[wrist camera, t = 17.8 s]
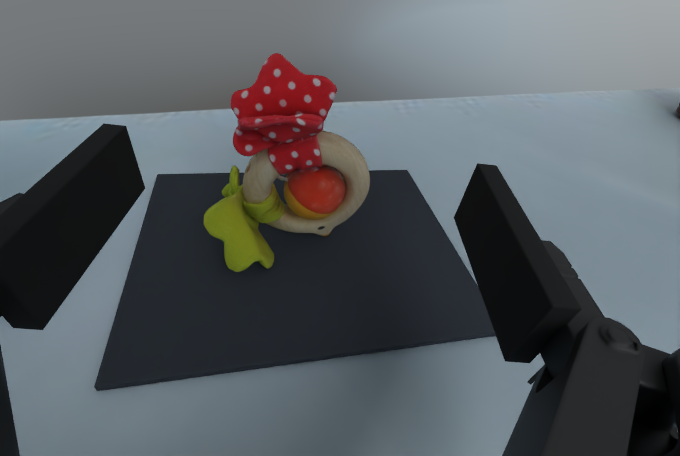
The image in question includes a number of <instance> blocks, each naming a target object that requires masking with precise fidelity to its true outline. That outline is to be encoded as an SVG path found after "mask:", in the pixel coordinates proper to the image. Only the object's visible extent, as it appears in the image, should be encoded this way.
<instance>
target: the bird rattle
mask: <svg viewBox="0 0 680 456" xmlns="http://www.w3.org/2000/svg"><path fill="white" fill-rule="evenodd" d="M336 92H337V88H336V86H335V85H334V84H333V83H332V82H331V81H330V80H329V79H328V78H326V77H324V76H318V75H305V74H303V73H302V72H300V71H299V70H298V69H296V68H295V67H294V66H293V65H292V64H291V63H290V62H289V61H288V60H287V59H286V58H284V57H283V56H282V55H281V54H278V53H275V54H272V55H271V56H270V57H269V58H268V59H267V60H266V61H265V63H264V65H263V66H262V69H261V71H260V73H259V75H258V78H257V80H256V82H255V84H254V85H253V86H252V87H250V88H247V89H243V90H238V91H236V92H234V94H233V95H232V98H231V108H232V110H233V111H234V113H235V115H236V116H237V118H238V119H239V120H238V127H237V128H236V130H235V132H234V136H233V144H234V147H235V149H236V150H237V152H238V153H240V154H241V155H244V156H252V155H253V156H252V158H251V160H250V161H249V163H248V165H247V167H246V170H245V173H244V177H243V184H242V185H241V186H239V169H238V168H237V167H236V166H232V169H231V172H230V178H229V184H227V185H226V186H225V187H224V189H223V190H222V195H223V196H224V197H225V198H224V199H222V200H220V201H219V202H218V203H216V204H215V205H213V206H212V207H210V208H209V209H208V210H207V211H206V212H205V214H204V226H205V228H206V229H207V231H208V232H209V234H210V235H211V236H213V237H215V238H218V239H220V240H222V241H223V242H224V256H225V261H226V265H227V267H228V268H229V269H231V270H233V271H235V272H240V271H243V270H245V269H246V268H248V267H249V266H250V265H251V264H252V263H253V262H256V261H259V262H260V264H262V265H263V266H264V267H265V268H267V269H268V268H271V267H272V265H273V262H274V253H273V251H272V250H271V248H270V247H269V245H268V244H267V242H266V241H265V239H264V238H263V236H262V235H261V233H260V232H259V230H258V226H259V222H260V223H266V224H268V225H270V226H272V227H274V228H277V229H281V230H284V231H288V232H294V233H314V234H317V235H320V236H327V235H329V234H330V232H331V231H332V229H333V228H334V227H335V226H337V225H339V224H341V223H342V222H344V221H346V220H347V219H348V218H349V217H350V216H352V215H353V214H354V213H355V212H356V211H357V210H358V208H359V207H360V206H361V205H362V203H363V202H364V200H365V198H366V196H367V194H368V191H369V186H370V175H369V170H368V166H367V163H366V161H365V159H364V157H363V155H362V154H361V153H360V151H359V150H358V149H357V148H356V147H355V146H354V145H353V144H352V143H350V142H349V141H348V140H346V139H345V138H343V137H341V136H339V135H336V134H334V133H331V132H327V131H322V130H323V122H324V120H325V119H326V117H327V114H328V112H329V110H330V107H331V106H332V103H333V100H334V98H335V95H336ZM287 173H288V175H287V177H286V178H285V177H282V176H280V174H281V175H285V174H287ZM276 178H278V179H280V180H285V183H284V197H285V200H286V203H287V204H288V205H286V204H284V203H283V201H282V200H281V199H280V197H279V194H278V192H277V190H276V188H275V185H274V183H273V182H274V181H275V179H276Z"/></svg>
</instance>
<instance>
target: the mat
mask: <svg viewBox="0 0 680 456" xmlns="http://www.w3.org/2000/svg"><path fill="white" fill-rule="evenodd" d="M287 175H288V173H287V174H285V175H281V174H280V176H282V177H285V178H286V177H287ZM369 175H370V186H369V191H368V194H367V196H366V198H365V200H364V202H363V203H362V205H361V206H360V207H359V208H358V210H357V211H356V212H355V213H354V214H353V215H352V216H350V217H349V218H348V219H347V220H346V221H344V222H342V223H341V224H339V225H337V226H335V227H334V228H333V229H332V231H331V232H330V234H329V235H327V236H320V235H317V234H314V233H294V232H288V231H284V230H281V229H277V228H274V227H272V226H270V225H268V224H266V223H260V222H259V226H258V230H259V232H260V233H261V235H262V236H263V238H264V239H265V241H266V242H267V244H268V245H269V247H270V248H271V250H272V251H273V253H274V262H273V265H272V267H271V268H268V269H267V268H265V267H264V266H263V265H262V264H260V262H259V261H256V262H253V263H252V264H251V265H250V266H249V267H248V268H246V269H245V270H243V271H240V272H235V271H233V270H231V269H229V268H228V267H227V265H226V261H225V256H224V242H223V241H222V240H220V239H218V238H215V237H213V236H211V235H210V234H209V232H208V231H207V229H206V228H205V226H204V214H205V212H206V211H207V210H208V209H209V208H210V207H212V206H213V205H215V204H216V203H218V202H219V201H220V200H222V199H224V198H225V197H224V196H223V195H222V190H223V189H224V187H225V186H226V185H227V184H229V178H230V173H205V174H158V175H157V178H156V181H155V185H154V188H153V191H152V195H151V198H150V202H149V205H148V208H147V212H146V215H145V218H144V222H143V225H142V228H141V232H140V235H139V239H138V242H137V245H136V249H135V252H134V255H133V259H132V262H131V265H130V269H129V272H128V276H127V279H126V282H125V286H124V289H123V292H122V296H121V299H120V302H119V306H118V309H117V312H116V316H115V319H114V323H113V326H112V329H111V333H110V336H109V339H108V343H107V346H106V349H105V353H104V356H103V360H102V363H101V366H100V370H99V373H98V376H97V380H96V383H95V386H94V387H95V389H96V390H97V391H100V390H108V389H115V388H122V387H129V386H136V385H144V384H151V383H158V382H165V381H172V380H180V379H187V378H194V377H201V376H208V375H216V374H223V373H230V372H237V371H244V370H252V369H259V368H266V367H273V366H280V365H288V364H295V363H302V362H309V361H316V360H324V359H331V358H338V357H345V356H352V355H360V354H367V353H374V352H381V351H388V350H396V349H403V348H410V347H417V346H424V345H432V344H439V343H446V342H453V341H460V340H468V339H475V338H482V337H489V336H496V334H495V331H494V329H493V326H492V323H491V320H490V317H489V315H488V312H487V309H486V306H485V303H484V301H483V298H482V295H481V292H480V289H479V288H478V286H477V284H476V283H475V281H474V279H473V278H472V276H471V274H470V273H469V271H468V269H467V268H466V266H465V265H464V263H463V261H462V260H461V258H460V256H459V255H458V253H457V251H456V250H455V248H454V246H453V245H452V243H451V241H450V240H449V238H448V237H447V235H446V233H445V232H444V230H443V228H442V227H441V225H440V223H439V222H438V220H437V218H436V217H435V215H434V214H433V212H432V210H431V209H430V207H429V205H428V204H427V202H426V200H425V199H424V197H423V195H422V194H421V192H420V190H419V189H418V187H417V186H416V184H415V182H414V181H413V179H412V177H411V176H410V174H409V172H408V171H407V170H376V171H369ZM243 177H244V173H239V186H241V185H242V184H243ZM273 183H274V185H275V188H276V190H277V192H278V194H279V197H280V199H281V200H282V201H283V203H284V204H286V205H288V204H287V203H286V200H285V197H284V183H285V180H280V179H278V178H276V179H275V181H274V182H273Z"/></svg>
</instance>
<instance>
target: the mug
mask: <svg viewBox="0 0 680 456" xmlns="http://www.w3.org/2000/svg"><path fill="white" fill-rule="evenodd" d="M676 112H677V115H678V117H679V118H680V103H679V106H678V108H677V109H676Z"/></svg>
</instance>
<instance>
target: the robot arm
mask: <svg viewBox="0 0 680 456" xmlns="http://www.w3.org/2000/svg"><path fill="white" fill-rule="evenodd" d="M144 189H145V186H144V183H143V180H142V176H141V173H140V170H139V167H138V163H137V160H136V157H135V154H134V151H133V147H132V144H131V141H130V138H129V135H128V131H127V128H126V126H121V125H111V124H103V125H102V126H101V127H100V128H98V129H97V130H96V131H95V132H94V133H93V134H92V135H90V136H89V137H88V138H87V139H86V140H85V141H84V142H82V143H81V144H80V145H79V146H78V147H77V148H76V149H75V150H73V151H72V152H71V153H70V154H69V155H68V156H67V157H65V158H64V159H63V160H62V161H61V162H60V163H59V164H57V165H56V166H55V167H54V168H53V169H52V170H51V171H50V172H48V173H47V174H46V175H45V176H44V177H43V178H42V179H40V180H39V181H38V182H37V183H36V184H35V185H34V186H32V187H31V188H30V189H29V190H28V191H27V192H26V193H24V194H22V193H18V194H16V195H14V196H12V197H10V198H8V199H6V200H4V201H2V202H0V317H1V316H3V317H4V318H5V319H6V321H7V322H8V323H9V324H10V325H11V326H12V327H13V328H21V329H36V330H43V329H44V328H45V326H46V325H47V323H48V322H49V321H50V319H51V318H52V317H53V315H54V314H55V312H56V311H57V310H58V308H59V307H60V305H61V304H62V303H63V301H64V300H65V299H66V297H67V296H68V294H69V293H70V292H71V290H72V289H73V287H74V286H75V285H76V283H77V282H78V281H79V279H80V278H81V276H82V275H83V274H84V272H85V271H86V269H87V268H88V267H89V265H90V264H91V263H92V261H93V260H94V258H95V257H96V256H97V254H98V253H99V251H100V250H101V249H102V247H103V246H104V245H105V243H106V242H107V240H108V239H109V238H110V236H111V235H112V233H113V232H114V231H115V229H116V228H117V227H118V225H119V224H120V222H121V221H122V220H123V218H124V217H125V215H126V214H127V213H128V211H129V210H130V209H131V207H132V206H133V204H134V203H135V202H136V200H137V199H138V197H139V196H140V195H141V193H142V192H143V191H144ZM454 219H455V222H456V225H457V228H458V230H459V233H460V236H461V239H462V242H463V244H464V247H465V250H466V253H467V256H468V258H469V261H470V264H471V267H472V270H473V272H474V275H475V278H476V281H477V284H478V286H479V289H480V292H481V295H482V298H483V301H484V303H485V306H486V309H487V312H488V315H489V317H490V320H491V323H492V326H493V329H494V331H495V334H496V337H497V340H498V343H499V345H500V348H501V351H502V354H503V357H504V359H505V361H508V362H523V363H530V362H531V361H532V360H533V359H534V358H535V357H536V356H537V355H538V354H539V353H540V354H541V356H542V358H543V360H544V363H545V365H544V366H543V367H542V368H541V369H540V370H539V371H538V372H537V373H536V374H534V375H533V376H532V377H531V378H530V380H529V381H528V383H529V384H532V383H533V382H534V381H535V382H534V384H533V386H532V389H531V391H530V393H529V396H528V398H527V400H526V402H525V405H524V407H523V409H522V412H521V414H520V416H519V418H518V421H517V423H516V425H515V428H514V430H513V432H512V435H511V437H510V439H509V441H508V444H507V446H506V448H505V451H504V453H503V455H502V456H680V348H679V349H678V350H676V351H675V352H674V353H672V354H668V353H666V352H663V351H660V350H657V349H654V348H651V347H648V346H645V345H642V344H641V342H640V340H639V339H638V338H637V337H636V336H635V335H634V333H633V332H632V331H631V330H629V329H628V328H627V327H625V326H624V325H622V324H621V323H619V322H617V321H615V320H612V319H610V318H605V317H604V315H603V314H602V312H601V311H600V309H599V308H598V306H597V305H596V303H595V301H594V300H593V298H592V297H591V295H590V294H589V292H588V290H587V289H586V287H585V286H584V284H583V283H582V281H581V280H580V279H578V275H577V273H576V272H575V270H574V269H573V268H571V264H570V262H569V261H568V259H567V258H566V256H565V255H564V253H563V252H562V251H561V250H560V249H558V248H557V247H556V246H555V245H554V244H553V243H552V242H551V241H541V239H540V238H539V236H538V234H537V233H536V231H535V229H534V228H533V226H532V224H531V223H530V221H529V219H528V218H527V216H526V214H525V213H524V211H523V209H522V208H521V206H520V204H519V203H518V201H517V199H516V198H515V196H514V194H513V193H512V191H511V189H510V188H509V186H508V184H507V183H506V181H505V179H504V178H503V176H502V174H501V172H500V171H499V169H498V167H497V166H495V165H486V164H477V165H476V168H475V170H474V172H473V175H472V177H471V179H470V182H469V184H468V186H467V189H466V191H465V193H464V196H463V198H462V200H461V203H460V205H459V207H458V209H457V212H456V214H455V216H454ZM677 430H678V432H677ZM0 456H20V454H19V448H18V443H17V437H16V431H15V426H14V420H13V414H12V408H11V403H10V397H9V391H8V386H7V380H6V374H5V369H4V363H3V357H2V351H1V346H0Z"/></svg>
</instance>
